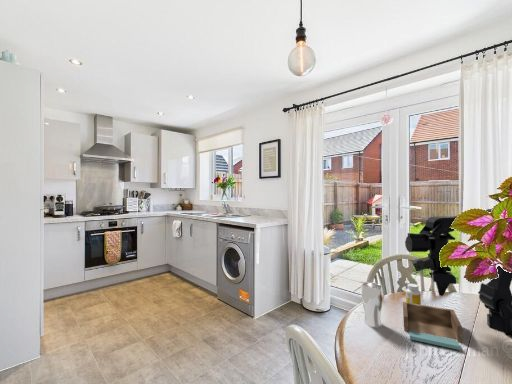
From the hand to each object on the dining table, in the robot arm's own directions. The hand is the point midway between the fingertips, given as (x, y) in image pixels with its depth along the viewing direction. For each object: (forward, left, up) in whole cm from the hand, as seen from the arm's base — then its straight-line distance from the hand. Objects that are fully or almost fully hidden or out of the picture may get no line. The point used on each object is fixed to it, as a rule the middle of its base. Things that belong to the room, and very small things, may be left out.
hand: (440, 295), depth 91 cm
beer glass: (+22, +9, -12) cm, 27 cm away
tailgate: (+4, +9, -11) cm, 15 cm away
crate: (+4, +3, -12) cm, 13 cm away
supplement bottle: (+8, -15, -12) cm, 21 cm away
